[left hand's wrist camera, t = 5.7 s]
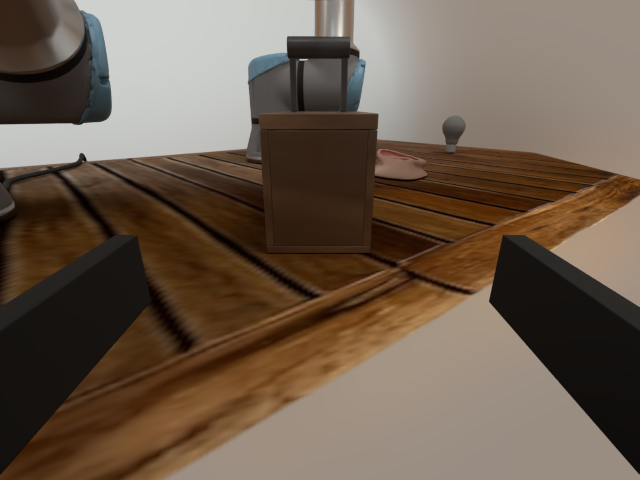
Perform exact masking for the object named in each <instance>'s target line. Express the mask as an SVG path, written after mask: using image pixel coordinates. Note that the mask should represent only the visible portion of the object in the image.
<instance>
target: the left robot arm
mask: <svg viewBox="0 0 640 480" xmlns="http://www.w3.org/2000/svg"><path fill="white" fill-rule="evenodd" d="M111 109H112V101H111V88H110V81H109V69H108V61H107V54H106V48H105V42H104V37H103V32H102V28H101V24H100V22H99V20H98V19H97V18H96V17H95V16H94V15H92V14H88V13H86V12H84V11H80V10H79V9H78V7H77V5H76V3H75V1H74V0H0V124H49V123H50V124H51V123H72V124H75V125H81V124H83V123H89V122H101V121H104V120H106V119H107V118H108V117H109V116H110V114H111ZM82 161H84V162H85V161H87V159H86V157H85V155H84V154H83V153H81V154H80V155H79V159H78V161H77V162H75V163H72V164H69V165H65V166H61V167H56V168H52V169H48V170H43V171H39V172H34V173H29V174H25V175H20V176H16V177H13V178H10V179H7V180H6V181H4V183H3V185H2V184H1V183H0V223H1V222H4V221H6V220H8V219H10V218H11V217H13V216H14V215H15V214H16V213H17V210H16V207H15V204H14V201H13V200H12V197H11V196H10V194H9V193H8V191H7V190H8V189H9V185H10V184H12V183H14V182H17V181H20V180H24V179H28V178H32V177H37V176H41V175H45V174H49V173H53V172H57V171H62V170H66V169H69V168H73V167H76V166H78V165H80V164H81V162H82ZM150 302H151V299H150V295H149V290H148V285H147V280H146V276H145V271H144V266H143V261H142V257H141V252H140V247H139V243H138V238H137V235H115V236H113V237H112V238H110V239H109V240H107V241H105V242H104V243H102V244H101V245H99V246H97V247H96V248H94V249H93V250H91V251H89V252H88V253H86V254H85V255H83V256H81V257H80V258H78V259H77V260H75V261H73V262H72V263H70V264H69V265H67V266H65V267H64V268H62V269H61V270H59V271H57V272H56V273H54V274H53V275H51V276H49V277H48V278H46V279H45V280H43V281H41V282H40V283H38V284H37V285H35V286H33V287H32V288H30V289H29V290H27V291H25V292H24V293H22V294H21V295H19V296H17V297H16V298H14V299H13V300H11V301H9V302H8V303H6V304H5V305H3V306H1V307H0V474H1V473H2V472H3V471H4V470H5V469H6V468H7V467H8V465H9V464H10V463H11V462H12V461H13V460H14V459H15V457H16V456H17V455H18V454H19V453H20V452H21V450H22V449H23V448H24V447H25V446H26V445H27V444H28V442H29V441H30V440H31V439H32V438H33V437H34V436H35V434H36V433H37V432H38V431H39V430H40V429H41V427H42V426H43V425H44V424H45V423H46V422H47V421H48V419H49V418H50V417H51V416H52V415H53V414H54V413H55V411H56V410H57V409H58V408H59V407H60V406H61V404H62V403H63V402H64V401H65V400H66V399H67V398H68V396H69V395H70V394H71V393H72V392H73V391H74V390H75V388H76V387H77V386H78V385H79V384H80V383H81V381H82V380H83V379H84V378H85V377H86V376H87V375H88V373H89V372H90V371H91V370H92V369H93V368H94V367H95V365H96V364H97V363H98V362H99V361H100V360H101V358H102V357H103V356H104V355H105V354H106V353H107V352H108V350H109V349H110V348H111V347H112V346H113V345H114V344H115V342H116V341H117V340H118V339H119V338H120V337H121V335H122V334H123V333H124V332H125V331H126V330H127V329H128V327H129V326H130V325H131V324H132V323H133V322H134V321H135V319H136V318H137V317H138V316H139V315H140V314H141V312H142V311H143V310H144V309H145V308H146V307H147V306H148V304H149V303H150ZM489 302H490V303H491V304H492V306H493V307H494V308H495V309H496V310H497V311H498V312H499V314H500V315H501V316H502V317H503V318H504V319H505V321H506V322H507V323H508V324H509V325H510V326H511V327H512V329H513V330H514V331H515V332H516V333H517V334H518V335H519V337H520V338H521V339H522V340H523V341H524V342H525V344H526V345H527V346H528V347H529V348H530V349H531V350H532V352H533V353H534V354H535V355H536V356H537V357H538V358H539V360H540V361H541V362H542V363H543V364H544V365H545V367H546V368H547V369H548V370H549V371H550V372H551V373H552V375H553V376H554V377H555V378H556V379H557V380H558V381H559V383H560V384H561V385H562V386H563V387H564V388H565V390H566V391H567V392H568V393H569V394H570V395H571V396H572V398H573V399H574V400H575V401H576V402H577V403H578V404H579V406H580V407H581V408H582V409H583V410H584V411H585V413H586V414H587V415H588V416H589V417H590V418H591V419H592V421H593V422H594V423H595V424H596V425H597V426H598V427H599V429H600V430H601V431H602V432H603V433H604V434H605V436H606V437H607V438H608V439H609V440H610V441H611V442H612V444H613V445H614V446H615V447H616V448H617V449H618V450H619V452H620V453H621V454H622V455H623V456H624V457H625V459H626V460H627V461H628V462H629V463H630V464H631V465H632V467H633V468H634V469H635V470H636V471H637V472H638V473H639V474H640V307H638V306H637V305H635V304H634V303H632V302H631V301H629V300H627V299H626V298H624V297H623V296H621V295H619V294H618V293H616V292H615V291H613V290H611V289H610V288H608V287H607V286H605V285H603V284H602V283H600V282H599V281H597V280H595V279H594V278H592V277H591V276H589V275H587V274H586V273H584V272H583V271H581V270H579V269H578V268H576V267H575V266H573V265H571V264H570V263H568V262H567V261H565V260H563V259H562V258H560V257H559V256H557V255H555V254H554V253H552V252H551V251H549V250H547V249H546V248H544V247H543V246H541V245H539V244H538V243H536V242H535V241H533V240H531V239H530V238H528V237H527V236H525V235H503V238H502V243H501V247H500V252H499V257H498V261H497V266H496V271H495V276H494V280H493V285H492V290H491V295H490V299H489Z"/></svg>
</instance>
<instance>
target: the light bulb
mask: <svg viewBox="0 0 640 480" xmlns="http://www.w3.org/2000/svg"><path fill="white" fill-rule="evenodd" d="M442 129H443V133H444V135H445V138H446V146H447V148H446V151H447V152H448V153H453V152H455V150H456V149H455V147H456V144H457V143H458V140H459V138H460V136H461V135H462V134H463V132H464V130H465V122H464V120H463V119H462V118H461V117H459V116H451V117H449V118H448V119H447V120H446V121H445V122H444V124H443V128H442Z"/></svg>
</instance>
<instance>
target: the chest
mask: <svg viewBox="0 0 640 480" xmlns="http://www.w3.org/2000/svg"><path fill="white" fill-rule="evenodd" d="M260 145H261V161H262V178H263V194H264V210H265V226H266V243H267V253H370V246H371V230H372V213H373V197H374V180H375V163H376V146H377V130H260Z"/></svg>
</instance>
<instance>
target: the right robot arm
mask: <svg viewBox="0 0 640 480" xmlns="http://www.w3.org/2000/svg"><path fill="white" fill-rule="evenodd" d="M353 25H354V0H315V36H350V58H349V59H348V79H347V111H357V110H358V107H359V103H360V97H361V92H362V86H363V79H364V72H365V65H366V62H365V61H364V60H362V59H360V60H359V49H358V48H357V47H356V46H355V45H354V43H353ZM296 73H297V111H340V96H341V59H308V60H306V61H299V59H296ZM248 74H249V80H248V84H249V95H250V108H251V121H252V130H251V134H250V139H249V143H248V147H247V152H246V158H247V161H249V162H253V163H262V161H261V145H260V129H259V114H261V113H270V112H280V111H291V98H290V63H289V59H288V54H287V53H276V54H270V55H265V56H261V57H257V58H255V59H253V60H252V61H251V62H250V64H249V67H248Z"/></svg>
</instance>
